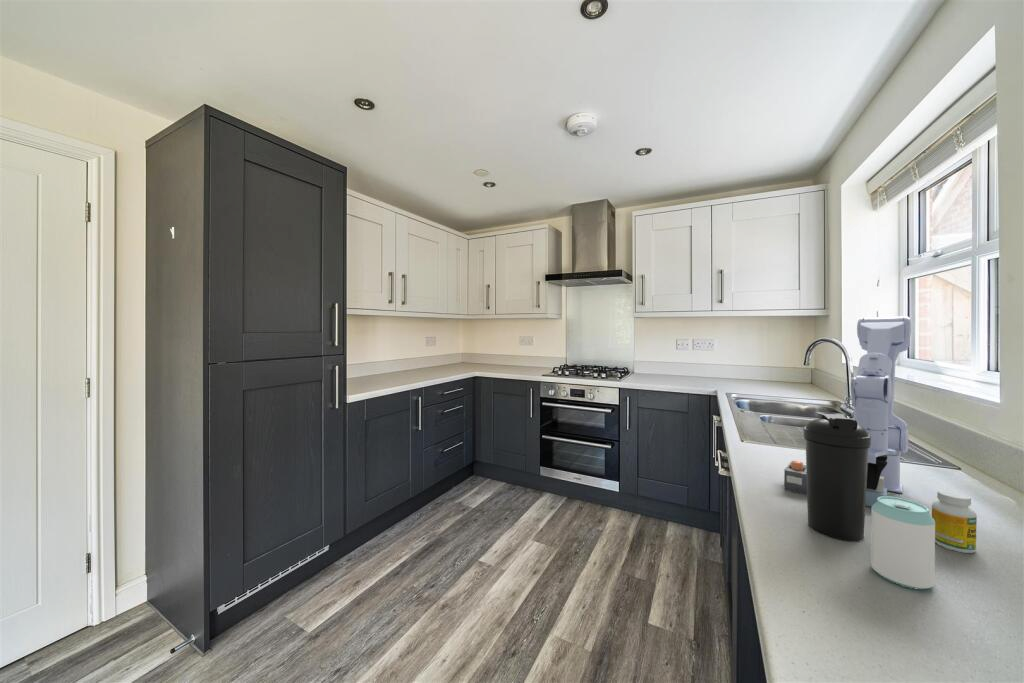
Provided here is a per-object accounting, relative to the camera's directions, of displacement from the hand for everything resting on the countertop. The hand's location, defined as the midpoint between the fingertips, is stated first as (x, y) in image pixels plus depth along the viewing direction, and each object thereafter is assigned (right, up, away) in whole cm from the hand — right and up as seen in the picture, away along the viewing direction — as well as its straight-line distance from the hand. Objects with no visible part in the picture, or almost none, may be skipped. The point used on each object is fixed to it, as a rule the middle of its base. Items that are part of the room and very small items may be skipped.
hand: (869, 486), depth 87 cm
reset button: (-10, -1, +10) cm, 14 cm away
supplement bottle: (-1, -4, -17) cm, 18 cm away
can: (-20, -5, -26) cm, 34 cm away
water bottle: (-18, -4, -12) cm, 22 cm away
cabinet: (-9, -4, +9) cm, 13 cm away
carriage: (0, -4, 0) cm, 4 cm away
